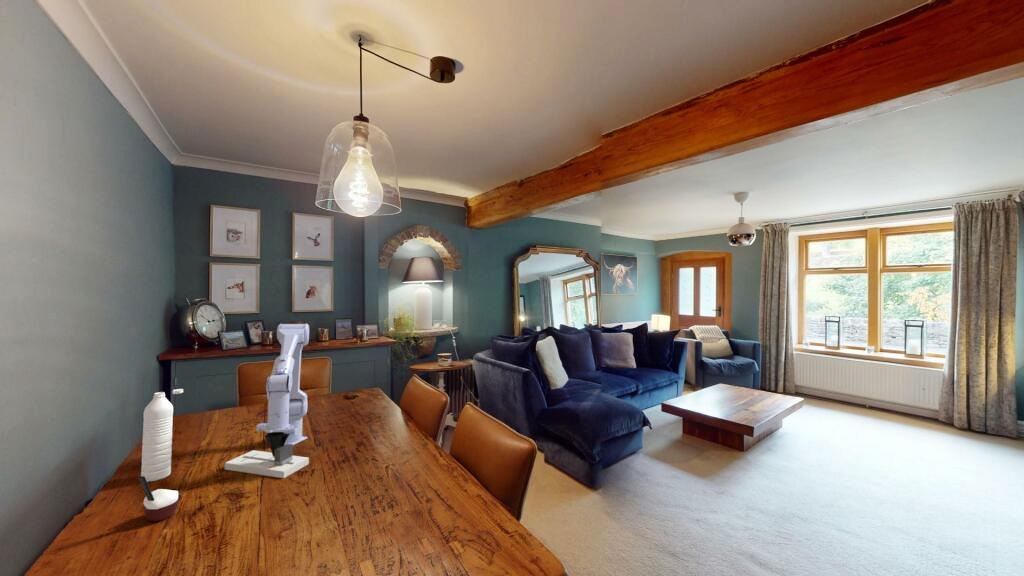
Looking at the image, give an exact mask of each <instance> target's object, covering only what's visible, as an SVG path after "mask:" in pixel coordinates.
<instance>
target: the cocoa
mask: <svg viewBox="0 0 1024 576" xmlns="http://www.w3.org/2000/svg"><path fill="white" fill-rule="evenodd" d="M137 479H138V481H139V483H140V486H141V487H142V490H143V492H144V494H145V497H144V500H143V503H142V504H143V510H144V511H143V513H144V516H145V518H146V519H147V520H148V521H150V522H161V521H164V520H166V519H168V518H170V517H171V516H172V515H174V513H175V512H176V510H177V508H178V506H179V503H180V501H181V500H182V499H181V498H182V496H181V494H179V491H178V490H172V489H167V488H164V489H163V488H158V489H155V490H153V491H152V490H151V488H150V485H149V482H147V481H146V478H145V477H144V476H141V475H139V476H138V477H137Z"/></svg>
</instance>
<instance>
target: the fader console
mask: <svg viewBox="0 0 1024 576" xmlns="http://www.w3.org/2000/svg"><path fill="white" fill-rule="evenodd" d="M292 457H293V460H291V461H289V462H287V463H285V464H283V465H278V464H274V457H273V455H272V452H271V451H270V452H269V451H262V450H261V451H260V450H254V449H252V450H250V451H248V452H246V453H244V454H241V455H239V456H237V457H234V458H232V459H231V460H228V461H226V462H224V470H227V471H232V472H240V473H248V474H254V475H258V476H259V475H260V476H266V477H272V478H278V479H279V478H280V479H285V478H288V477H289V476H290V475H292V474H294V473H296V472H297V471H299V470H300V469H302V468H305V467H306V466H307V465H309V464H310V457H308V456H307V457H306V456H298V455H293V456H292Z"/></svg>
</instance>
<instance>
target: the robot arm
mask: <svg viewBox="0 0 1024 576" xmlns="http://www.w3.org/2000/svg"><path fill="white" fill-rule="evenodd" d="M276 339H277V341H278V342H279V344H280V345H281V348H280V354H279V356H277V357H276V358H275V360H274V363H273V367H272V370H271V375H270V376H268V377H267V379H266V384H265V390H266V399H267V400H268V402H267V423H265V422H264V423H262V422H261V423H259V424H256V429H255V430H256V432H265V433H267V434H265V435H264V439H265V440H266V441H267V442H268V445H269V447H270V450H271V451H270V452H271V453H272V455H273V457H275V450H276V449H278V448H280V447H282V446H284V445H286V444H293V446H295V445H297V444H298V443H301V442H303V441H305V440H307V439H308V436H303V417H304V416H306V414H307V412H308V407H309V406H308V395H307V393H305V392H304V391H302V390H301V389H300V388H301V387H300V386H301V385H300V384H301V371H302V370H301V369H302V368H301V366H302V351H303V347H305V346H307V345H308V344H309V342H310V341H309V340H310V325H309V324H308V323H280V324H278V325H277V329H276Z"/></svg>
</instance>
